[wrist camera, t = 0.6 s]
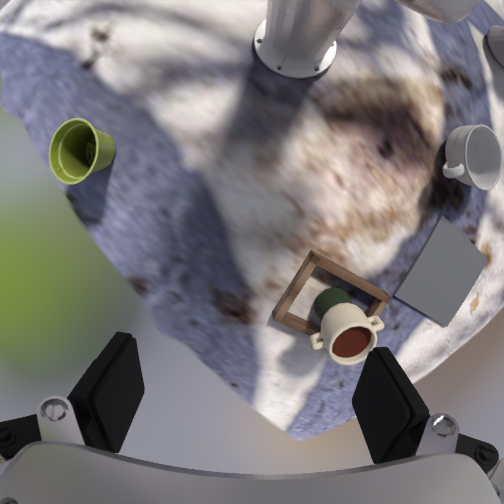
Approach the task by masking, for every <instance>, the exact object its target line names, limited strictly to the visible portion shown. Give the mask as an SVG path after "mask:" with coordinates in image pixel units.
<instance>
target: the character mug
mask: <svg viewBox="0 0 504 504" xmlns="http://www.w3.org/2000/svg"><path fill="white" fill-rule="evenodd" d="M315 311H316V313H317V315H318V316H319V318H320V320H321V332H319V333H315V334H312V335H310V338H309V340H310V343H311V347H312V348H313V349H314V350H319V349H323V348H327V351H328V353H329V355H330V357H331V359H332V360H333V361H334V362H336V363H337V364H339V365H344V366H351V365H356V364H358V363H360V362H362V361H364V360H365V359H366V358H367V355H368V353H369V351H372V349H373V348H375V347H376V343H377V335H376V332H377V331H380V330H382V329H383V328H384V324H383V322H382V321H381V320H380V318H379V317H378V316H377V315H374V316H371V317H368V318H367V317H366V315H365V314H364V312H363V311H362V310H361V309H360V308H359V307H357V306H356V305H354V304H352V302H351V300H350V298H349V295H348V293H347V292H345V291H344V290H343V289H341V288H336V287H332V288H329V289H325V290H324V291H323V292H322V293H321V294H320V295H319V296H318V298H317V300H316V302H315ZM373 322H375V323H376V325H374V326H372V324H371V323H373ZM322 338H323V340H324V341H322V342H319V343H317V340H318V339H322Z"/></svg>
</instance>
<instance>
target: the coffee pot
mask: <svg viewBox="0 0 504 504" xmlns="http://www.w3.org/2000/svg"><path fill="white" fill-rule="evenodd" d="M487 37H488V39H487V40H488V45H489V48H490V51H491V52H492V54H493V56H494V57H495V59H496V60H497V61H498V62H499V63H500V64H502V65H503V66H504V27H502V26H496V25H493V26H491V27H490V28H489V30H488V33H487Z"/></svg>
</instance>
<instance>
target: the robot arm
mask: <svg viewBox="0 0 504 504" xmlns="http://www.w3.org/2000/svg"><path fill="white" fill-rule="evenodd" d="M393 1H396V2H398V3H400V4H402V5H404V6H406V7H408V8H410V9H412V10H413V11H415V12H417V13H419V14H421V15H423V16H425V17H427V18H429V19H431V20H434V21H437V22H440V23H455V22H458V21H460V20H462V19H464V18H465V17H467V16H468V15H469V14H470V13H471V12H472V11H473V10H474V8H475V7H476V6H477V5H478V3H479V2H480V0H393ZM359 4H360V0H268V2H267V14H266V19H264V20H263V21H262V22H261V23H260V24H259V26H258V28H257V29H256V32H255V36H254V46H255V50H256V53H257V55H258V57H259V59H260V60H261V61H262V62H263V64H264V65H265V66H267V67H268V68H269V69H270V70H272V71H274V72H276V73H277V74H280V75H283V76H285V77H290V78H299V79H303V78H310V77H313V76H317V75H319V74H320V73H322V72H324V71H325V70H326V69H327V68H328V67H329V66H330V65H331V64H332V62H333V60H334V59H335V55H336V47H337V46H336V41H335V40H336V38H337V37H338V36H339V34H340V33H341V31H342V30H343V28H344V27H345V26H346V24H347V23H348V21H349V20H350V19H351V17H352V16H353V15H354V13H355V12H356V10H357V8H358V6H359ZM258 42H261V43H258ZM331 46H332V47H331ZM278 68H280V69H281V70H278ZM314 69H316V70H317V71H315V70H314ZM143 394H144V382H143V377H142V372H141V366H140V361H139V355H138V349H137V342H136V339H135V338H133V337H132V335H131V334H130V333H124V332H116V333H115V335H114V336H113V338H112V339H111V340H110V342H109V343H108V344H107V345H106V347H105V348H104V349H103V351H102V352H101V353H100V355H99V356H98V357H97V359H95V360H94V361H93V362H92V364H91V365H90V366H89V368H88V369H87V370H86V372H85V374H84V375H83V376H82V378H81V379H80V380H79V382H78V383H77V384H76V386H75V387H74V389H73V390H72V392H71V393H70V394H69V396H68V397H67V399H66V398H63V397H61V396H50V397H47V398H45V399H44V400H42V401H41V402H40V403H39V405H38V407H37V414H34V415H30V416H26V417H22V418H18V419H13V420H9V421H3V422H0V504H504V459H503V458H502V459H501V460H499V454H498V451H497V450H496V448H495V447H494V446H493V445H491V444H489V443H486V442H483V441H480V440H477V439H474V438H471V437H468V436H465V435H462V434H460V433H459V426H458V423H457V422H456V420H455V419H454V418H452V417H451V416H449V415H447V414H442V413H441V414H435V415H432V416H430V414H429V409H428V408H427V406H426V405H425V403H424V401H423V400H422V398H421V397H420V395H419V394H418V392H417V390H416V389H415V387H414V386H413V384H412V383H411V381H410V380H409V378H408V377H407V375H406V374H405V372H404V371H403V369H402V368H401V366H400V365H399V363H398V362H397V360H396V359H395V357H394V356H393V354H392V353H391V351H390V350H389V348H388V347H375V348H373V349H372V351H369V353H368V355H367V358H366V361H365V364H364V367H363V370H362V373H361V376H360V378H359V381H358V384H357V387H356V389H355V392H354V395H353V397H352V405H353V408H354V411H355V414H356V416H357V419H358V422H359V424H360V427H361V430H362V433H363V435H364V438H365V441H366V443H367V446H368V449H369V452H370V455H371V458H372V460H373V463H374V464H375V465H370V466H364V467H358V468H351V469H344V470H336V471H329V472H328V471H327V472H316V473H302V474H274V475H273V474H269V475H268V474H236V473H222V472H211V471H202V470H194V469H187V468H180V467H174V466H168V465H163V464H158V463H153V462H149V461H144V460H139V459H135V458H131V457H126V456H122V455H118V454H115V453H119V451H120V449H121V447H122V444H123V442H124V440H125V437H126V434H127V432H128V430H129V427H130V425H131V423H132V420H133V418H134V416H135V413H136V411H137V409H138V406H139V404H140V401H141V399H142V397H143Z"/></svg>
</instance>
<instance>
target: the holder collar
mask: <svg viewBox="0 0 504 504" xmlns="http://www.w3.org/2000/svg"><path fill="white" fill-rule="evenodd" d="M316 265H317V266H319V267H321V268H323V269H325V270H327V271H329V272H330V273H332V274H334V275H336V276H338V277H340V278H341V279H343V280H345V281H347V282H349V283H351V284H352V285H354V286H356V287H358V288H360V289H362V290H363V291H365V292H367V293H369V294H371V295H373V296H374V297H375V299H374V300H373V302H372V303H371V305H370V306H369V308H368V309H367V310H366V312H365V313H364V314H365V315H366V317H367V318H368V317H371V316H374V315H377V316H379V315H380V313H381V312H382V311H383V309H384V308H385V306H386V305H387V303H388V302H389V300H390V299H391V297H390V296H389V295H388V294H387V293H386V292H385V291H383V290H382V289H380V288H378V287H376V286H375V285H373V284H371V283H369V282H368V281H366V280H364V279H362V278H361V277H359V276H357V275H355V274H354V273H352V272H350V271H348V270H346V269H345V268H343V267H341V266H339V265H337V264H336V263H334V262H332V261H330V260H328V259H327V258H325V257H323V256H321V255H319V254H318V253H316V252H314V251H312V250H311V251H310V252H309V254H308V256H307V257H306V259H305V261H304V262H303V264H302V266H301V267H300V269H299V270H298V272H297V274H296V275H295V277H294V279H293V280H292V282H291V283H290V285H289V286H288V288H287V290H286V291H285V293H284V294H283V296H282V298H281V299H280V301H279V302H278V304H277V305H276V307H275V308H274V310H273V312H272V315H273V320H275V321H278V322H280V323H282V324H284V325H286V326H289V327H291V328H293V329H295V330H298V331H300V332H302V333H305V334H307V335H309V336H310V335H312V334H315V333H319V332H321V327H319V326H317V325H315V324H313V323H311V322H308V321H306V320H304V319H302V318H300V317H297V316H295V315H293V314H291V313H289V312H287V310H288V309H289V307H290V306H291V304H292V303H293V301H294V300H295V298H296V297H297V295H298V294H299V292H300V290H301V289H302V287H303V286H304V284H305V283H306V281H307V280H308V278H309V276H310V275H311V273H312V272H313V270H314V268H315V267H316ZM373 323H374V322H373ZM373 323H371V324H373ZM319 340H321V341H324V340H323V338H322V339H319Z"/></svg>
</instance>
